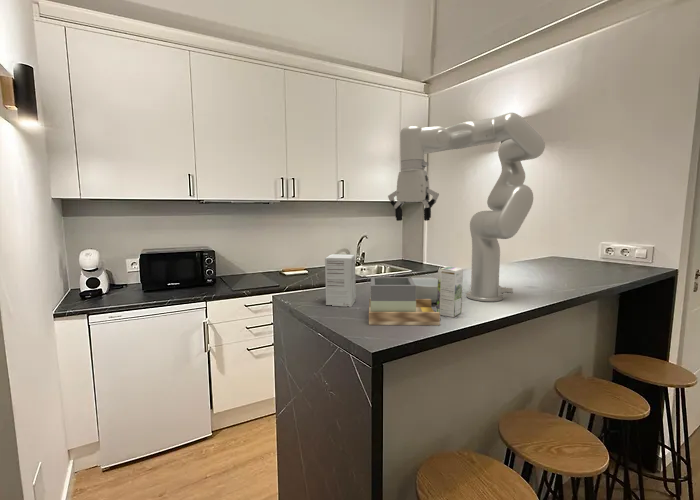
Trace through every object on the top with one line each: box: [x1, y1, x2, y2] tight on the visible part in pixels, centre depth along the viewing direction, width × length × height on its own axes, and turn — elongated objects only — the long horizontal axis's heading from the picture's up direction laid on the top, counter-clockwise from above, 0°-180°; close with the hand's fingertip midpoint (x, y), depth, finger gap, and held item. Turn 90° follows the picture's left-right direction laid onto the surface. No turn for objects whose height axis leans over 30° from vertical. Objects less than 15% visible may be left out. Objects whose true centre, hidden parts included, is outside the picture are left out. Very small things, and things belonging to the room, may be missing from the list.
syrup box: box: [436, 266, 464, 318], centre depth 112 cm, size 6×6×14 cm
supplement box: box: [324, 253, 357, 308], centre depth 127 cm, size 10×9×17 cm
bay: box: [368, 298, 441, 326], centre depth 111 cm, size 20×16×4 cm
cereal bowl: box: [411, 277, 438, 304], centre depth 130 cm, size 17×17×7 cm
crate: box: [370, 276, 416, 312], centre depth 111 cm, size 13×13×10 cm
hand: (412, 220), depth 119 cm, fingers open, 9 cm apart
